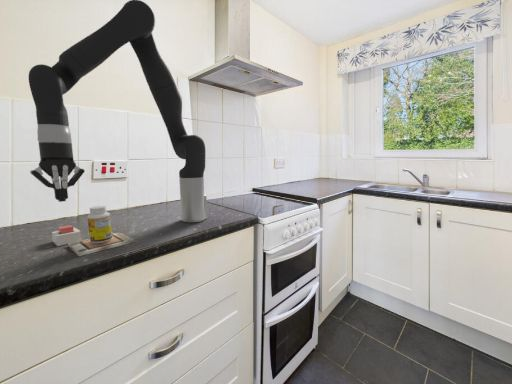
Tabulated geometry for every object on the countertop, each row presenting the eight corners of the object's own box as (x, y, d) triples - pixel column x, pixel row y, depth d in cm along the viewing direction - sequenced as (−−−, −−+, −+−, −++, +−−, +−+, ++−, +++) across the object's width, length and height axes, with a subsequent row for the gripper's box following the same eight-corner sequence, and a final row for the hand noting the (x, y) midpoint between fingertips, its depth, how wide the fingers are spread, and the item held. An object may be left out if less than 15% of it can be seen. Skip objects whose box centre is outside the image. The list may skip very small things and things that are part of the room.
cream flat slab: (119, 234, 83) (119, 231, 83) (134, 242, 76) (133, 239, 76) (68, 246, 72) (67, 243, 72) (79, 256, 65) (78, 252, 65)
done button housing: (76, 236, 81) (75, 227, 81) (81, 240, 77) (80, 231, 77) (52, 241, 77) (51, 232, 76) (57, 246, 73) (56, 236, 72)
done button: (71, 232, 79) (70, 224, 78) (73, 234, 77) (72, 226, 76) (59, 235, 76) (58, 227, 76) (61, 237, 74) (60, 228, 74)
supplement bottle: (90, 239, 75) (87, 206, 74) (112, 236, 78) (109, 204, 76) (89, 245, 70) (85, 209, 69) (112, 242, 73) (109, 207, 71)
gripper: (26, 140, 65) (35, 206, 67) (86, 142, 75) (91, 199, 77) (22, 141, 70) (30, 202, 72) (78, 143, 80) (84, 197, 82)
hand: (62, 201), depth 75 cm, fingers closed
